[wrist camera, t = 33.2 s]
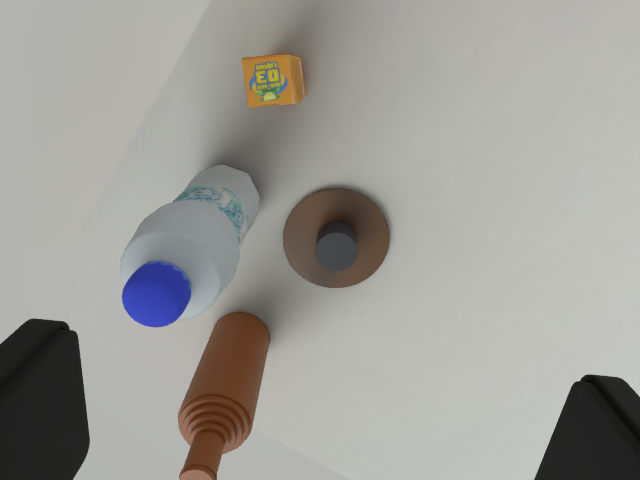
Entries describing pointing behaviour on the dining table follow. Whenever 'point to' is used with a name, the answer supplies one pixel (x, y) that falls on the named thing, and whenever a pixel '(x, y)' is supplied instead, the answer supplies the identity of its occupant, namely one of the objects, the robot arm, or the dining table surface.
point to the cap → (336, 246)
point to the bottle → (188, 248)
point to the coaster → (336, 209)
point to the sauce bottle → (223, 393)
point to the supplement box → (273, 80)
